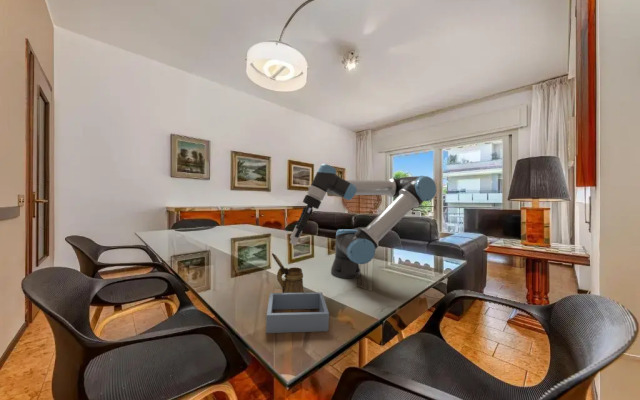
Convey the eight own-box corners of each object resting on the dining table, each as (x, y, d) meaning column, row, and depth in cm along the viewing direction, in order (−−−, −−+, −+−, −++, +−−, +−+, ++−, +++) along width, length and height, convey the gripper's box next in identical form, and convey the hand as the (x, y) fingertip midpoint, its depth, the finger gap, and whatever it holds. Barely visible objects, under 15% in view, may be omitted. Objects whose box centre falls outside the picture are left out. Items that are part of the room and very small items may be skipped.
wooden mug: (269, 293, 102) (271, 250, 101) (302, 291, 105) (304, 249, 104) (270, 303, 93) (272, 256, 92) (306, 301, 96) (308, 255, 95)
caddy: (321, 306, 92) (322, 292, 92) (328, 331, 77) (329, 313, 77) (269, 307, 90) (270, 293, 89) (266, 333, 75) (266, 315, 74)
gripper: (304, 194, 121) (285, 233, 120) (308, 192, 96) (283, 242, 95) (318, 201, 122) (299, 240, 121) (325, 201, 97) (301, 250, 96)
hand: (292, 241), depth 108 cm, fingers open, 13 cm apart
